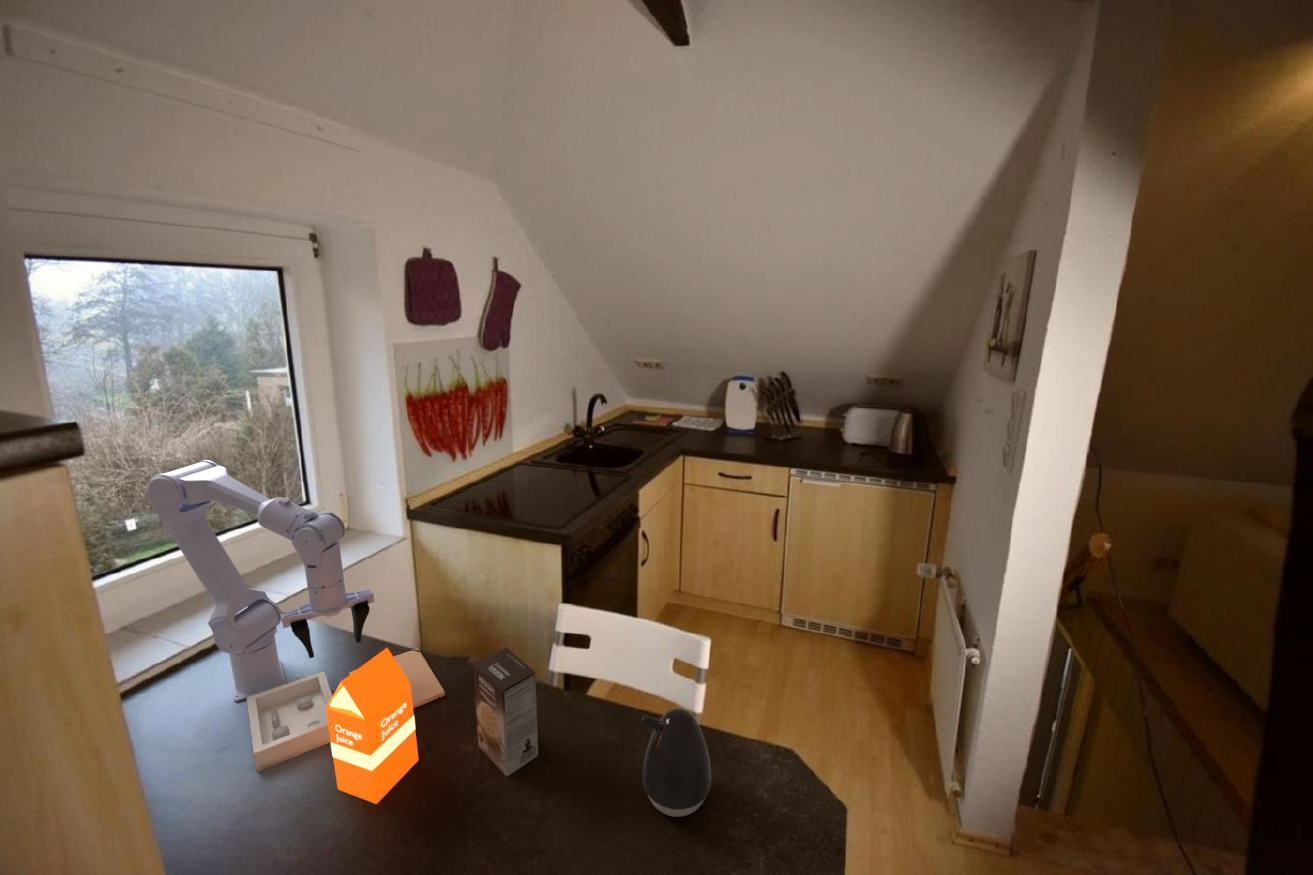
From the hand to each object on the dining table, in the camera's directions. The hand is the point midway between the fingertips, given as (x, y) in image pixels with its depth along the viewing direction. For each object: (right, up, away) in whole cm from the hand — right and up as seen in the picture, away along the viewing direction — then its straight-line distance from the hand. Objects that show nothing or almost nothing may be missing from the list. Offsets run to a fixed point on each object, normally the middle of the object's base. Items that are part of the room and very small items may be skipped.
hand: (335, 647), depth 104 cm
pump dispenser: (+63, -16, -20) cm, 68 cm away
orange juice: (+16, -14, -16) cm, 27 cm away
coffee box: (+35, -13, -11) cm, 39 cm away
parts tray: (-3, -11, -6) cm, 13 cm away
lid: (+10, -9, +4) cm, 13 cm away
